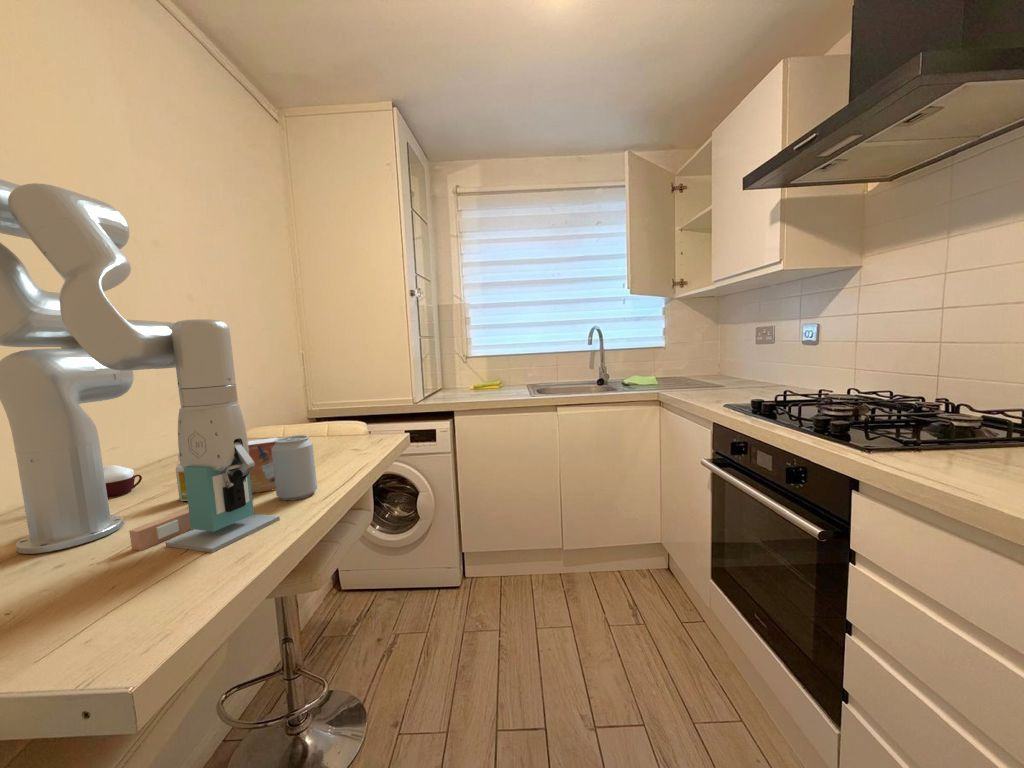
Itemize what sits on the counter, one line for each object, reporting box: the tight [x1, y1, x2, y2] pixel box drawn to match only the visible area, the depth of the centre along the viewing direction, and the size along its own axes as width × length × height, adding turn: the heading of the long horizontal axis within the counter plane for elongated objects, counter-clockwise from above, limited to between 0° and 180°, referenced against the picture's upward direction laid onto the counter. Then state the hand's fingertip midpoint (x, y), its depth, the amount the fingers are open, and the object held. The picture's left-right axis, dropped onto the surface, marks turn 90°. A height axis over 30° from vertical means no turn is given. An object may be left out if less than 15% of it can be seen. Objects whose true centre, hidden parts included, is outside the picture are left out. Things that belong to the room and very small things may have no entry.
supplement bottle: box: [175, 453, 188, 502], centre depth 89 cm, size 5×5×10 cm
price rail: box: [128, 508, 192, 551], centre depth 73 cm, size 2×16×3 cm, turn 162°
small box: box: [248, 436, 279, 494], centre depth 92 cm, size 8×6×10 cm
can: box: [271, 434, 318, 501], centre depth 86 cm, size 8×8×12 cm
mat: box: [165, 513, 281, 554], centre depth 70 cm, size 10×12×1 cm
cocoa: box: [103, 464, 143, 498], centre depth 94 cm, size 10×6×12 cm, turn 128°
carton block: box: [183, 461, 255, 532], centre depth 70 cm, size 7×5×10 cm
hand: (222, 506), depth 70 cm, fingers closed on carton block, 5 cm apart
